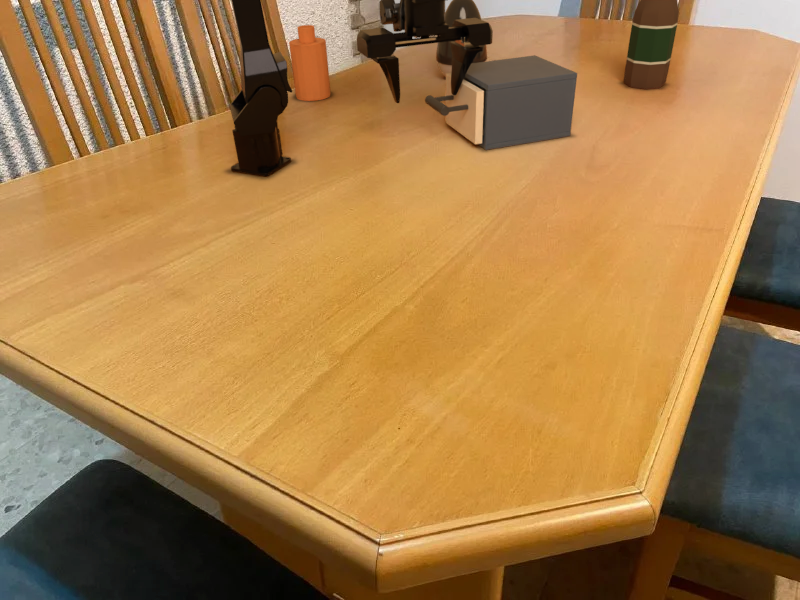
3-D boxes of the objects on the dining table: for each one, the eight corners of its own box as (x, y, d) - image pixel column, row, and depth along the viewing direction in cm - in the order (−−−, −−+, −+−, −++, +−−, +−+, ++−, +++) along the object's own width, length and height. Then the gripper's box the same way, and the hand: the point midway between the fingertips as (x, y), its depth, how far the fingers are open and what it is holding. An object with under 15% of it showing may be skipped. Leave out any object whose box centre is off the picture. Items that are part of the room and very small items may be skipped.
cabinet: (485, 150, 96) (488, 85, 90) (452, 125, 106) (452, 65, 100) (570, 136, 99) (577, 72, 94) (530, 113, 109) (535, 55, 104)
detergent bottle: (318, 102, 120) (311, 31, 113) (289, 99, 122) (280, 29, 115) (336, 92, 124) (330, 24, 118) (308, 89, 127) (300, 22, 120)
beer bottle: (623, 89, 119) (646, -58, 106) (621, 78, 126) (643, -62, 112) (667, 90, 118) (696, -59, 104) (663, 79, 124) (690, -63, 111)
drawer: (447, 149, 94) (447, 95, 90) (419, 126, 103) (418, 76, 99) (554, 131, 99) (559, 80, 94) (519, 111, 108) (522, 63, 103)
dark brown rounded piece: (485, 70, 134) (488, -9, 126) (486, 83, 126) (489, -1, 117) (437, 71, 135) (437, -8, 127) (434, 84, 127) (434, 1, 118)
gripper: (463, -29, 95) (461, 78, 104) (342, -19, 90) (351, 92, 99) (496, -21, 86) (491, 95, 95) (364, -9, 82) (372, 113, 90)
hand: (425, 98), depth 95 cm, fingers open, 9 cm apart
